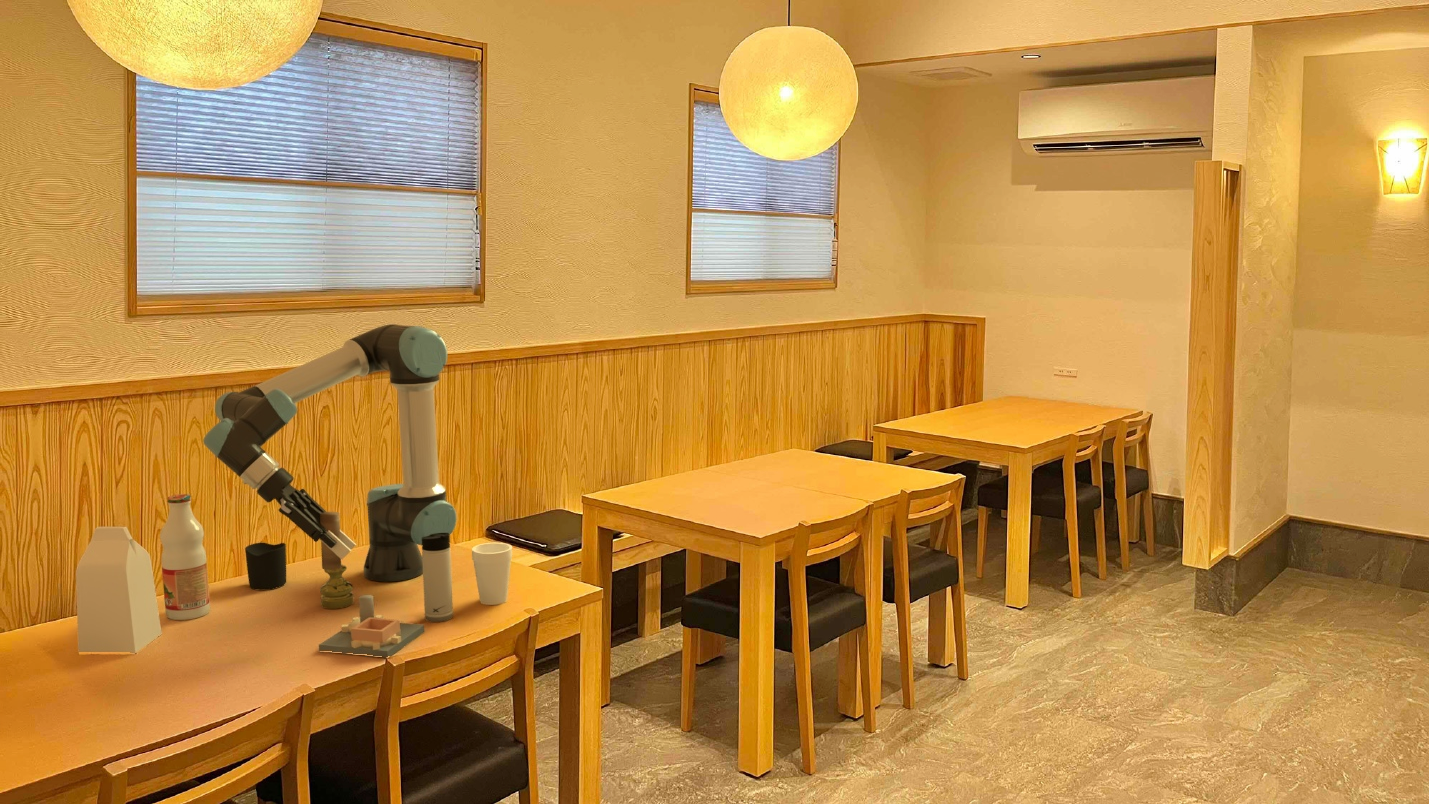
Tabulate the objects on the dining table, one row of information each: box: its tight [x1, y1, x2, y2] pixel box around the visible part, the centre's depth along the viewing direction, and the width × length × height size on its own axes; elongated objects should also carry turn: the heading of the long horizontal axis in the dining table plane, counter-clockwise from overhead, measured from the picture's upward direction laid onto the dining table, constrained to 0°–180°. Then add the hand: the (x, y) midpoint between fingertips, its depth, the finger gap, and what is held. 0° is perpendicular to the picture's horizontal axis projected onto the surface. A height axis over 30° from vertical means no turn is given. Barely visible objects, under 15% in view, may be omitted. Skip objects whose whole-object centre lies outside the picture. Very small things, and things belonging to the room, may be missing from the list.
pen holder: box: [244, 542, 287, 590], centre depth 283 cm, size 9×9×10 cm
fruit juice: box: [159, 493, 211, 621], centre depth 261 cm, size 9×9×28 cm
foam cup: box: [471, 542, 513, 606], centre depth 271 cm, size 10×9×13 cm
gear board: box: [318, 594, 426, 657], centre depth 245 cm, size 16×16×9 cm
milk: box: [75, 526, 163, 653], centre depth 242 cm, size 12×12×26 cm
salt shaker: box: [319, 563, 354, 610], centre depth 269 cm, size 7×7×10 cm
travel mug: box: [421, 533, 454, 623], centre depth 259 cm, size 6×7×20 cm
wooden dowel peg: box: [320, 511, 342, 570], centre depth 248 cm, size 4×4×12 cm
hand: (349, 551), depth 249 cm, fingers closed on wooden dowel peg, 4 cm apart
